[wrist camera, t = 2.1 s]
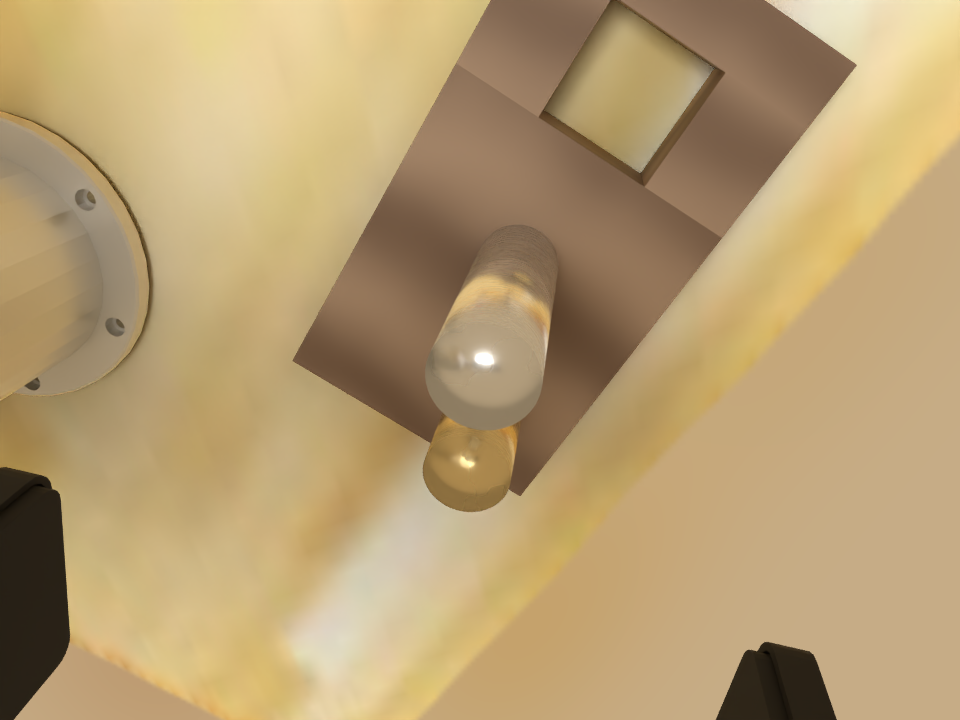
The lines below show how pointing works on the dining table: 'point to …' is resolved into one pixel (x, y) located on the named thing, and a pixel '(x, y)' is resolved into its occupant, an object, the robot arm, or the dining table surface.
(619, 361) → the hole board
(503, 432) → the short brass pin
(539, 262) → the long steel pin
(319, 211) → the dining table surface
